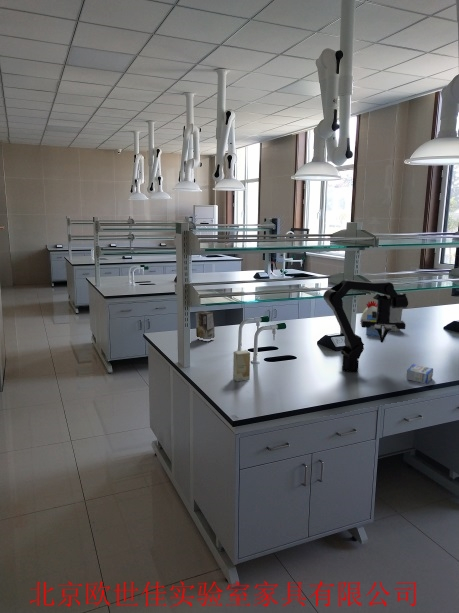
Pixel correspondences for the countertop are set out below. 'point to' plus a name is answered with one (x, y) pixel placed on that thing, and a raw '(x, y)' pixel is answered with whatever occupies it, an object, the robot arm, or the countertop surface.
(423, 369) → the medicine box
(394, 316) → the skincare box
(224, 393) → the countertop surface
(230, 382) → the countertop surface
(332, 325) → the countertop surface
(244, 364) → the skincare box
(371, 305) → the kitchen timer
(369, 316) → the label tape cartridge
